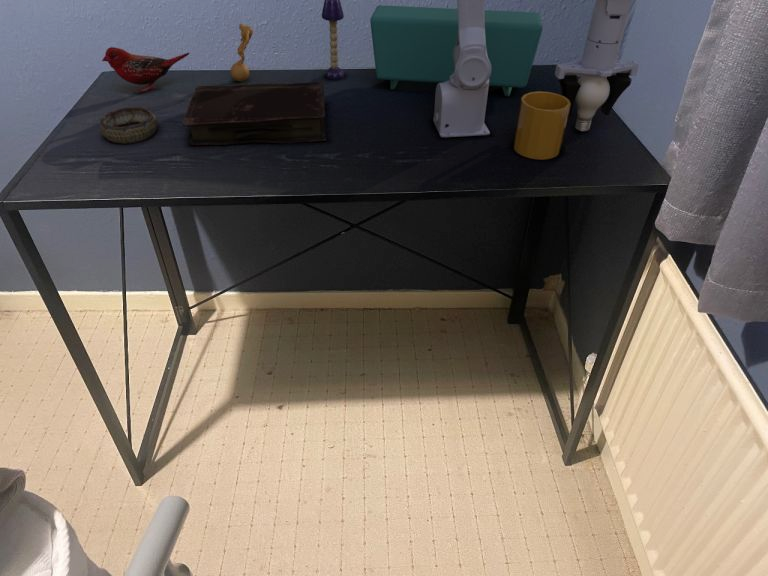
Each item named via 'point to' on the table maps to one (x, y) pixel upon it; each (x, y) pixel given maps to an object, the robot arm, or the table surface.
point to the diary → (257, 114)
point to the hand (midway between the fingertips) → (585, 114)
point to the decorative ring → (125, 116)
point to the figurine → (242, 55)
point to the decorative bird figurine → (139, 67)
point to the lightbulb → (590, 99)
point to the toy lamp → (333, 35)
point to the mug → (541, 125)
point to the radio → (451, 44)
